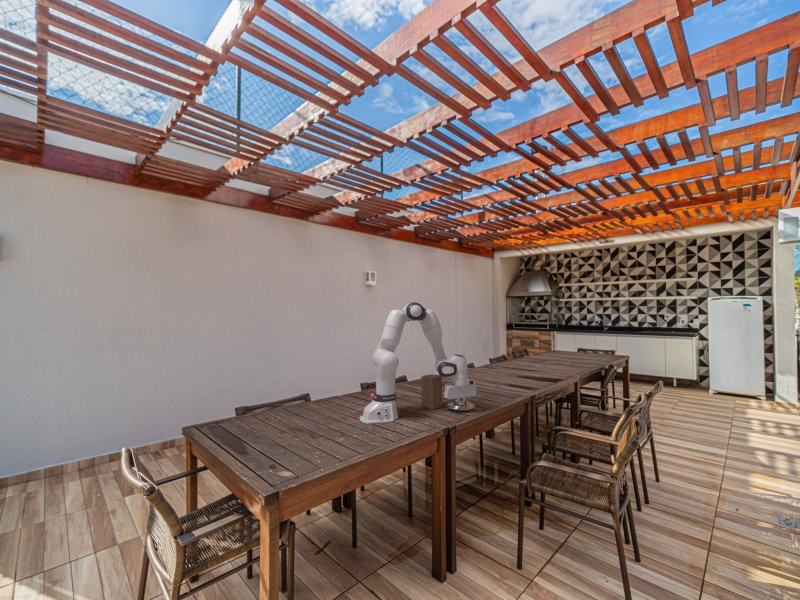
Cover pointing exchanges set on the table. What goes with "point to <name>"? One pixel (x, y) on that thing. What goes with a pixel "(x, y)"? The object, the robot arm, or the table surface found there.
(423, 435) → the table surface
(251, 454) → the table surface
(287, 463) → the table surface
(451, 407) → the turntable
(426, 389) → the wooden block
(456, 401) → the cast cover
